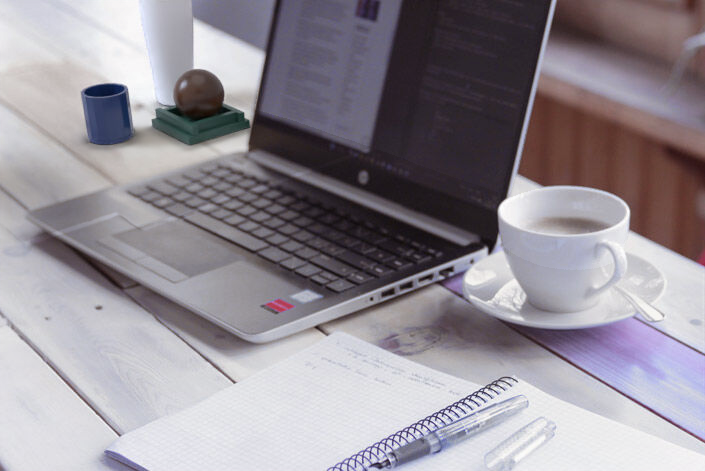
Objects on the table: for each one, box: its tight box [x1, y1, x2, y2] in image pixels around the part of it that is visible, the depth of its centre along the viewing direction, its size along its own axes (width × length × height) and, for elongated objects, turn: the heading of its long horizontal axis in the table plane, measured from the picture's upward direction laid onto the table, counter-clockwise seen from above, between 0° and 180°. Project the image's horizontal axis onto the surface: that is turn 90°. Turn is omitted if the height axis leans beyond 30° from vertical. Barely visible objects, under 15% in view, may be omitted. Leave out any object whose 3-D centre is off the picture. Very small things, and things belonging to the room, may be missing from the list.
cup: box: [80, 82, 135, 146], centre depth 117 cm, size 6×6×6 cm
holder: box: [151, 103, 251, 146], centre depth 121 cm, size 9×9×2 cm
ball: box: [173, 68, 226, 120], centre depth 119 cm, size 6×6×6 cm
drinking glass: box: [138, 0, 195, 107], centre depth 127 cm, size 7×7×15 cm
